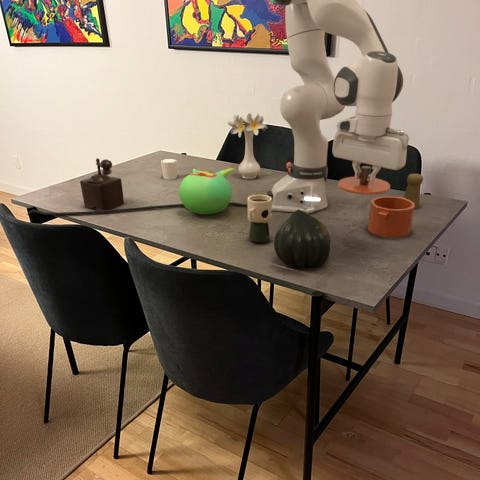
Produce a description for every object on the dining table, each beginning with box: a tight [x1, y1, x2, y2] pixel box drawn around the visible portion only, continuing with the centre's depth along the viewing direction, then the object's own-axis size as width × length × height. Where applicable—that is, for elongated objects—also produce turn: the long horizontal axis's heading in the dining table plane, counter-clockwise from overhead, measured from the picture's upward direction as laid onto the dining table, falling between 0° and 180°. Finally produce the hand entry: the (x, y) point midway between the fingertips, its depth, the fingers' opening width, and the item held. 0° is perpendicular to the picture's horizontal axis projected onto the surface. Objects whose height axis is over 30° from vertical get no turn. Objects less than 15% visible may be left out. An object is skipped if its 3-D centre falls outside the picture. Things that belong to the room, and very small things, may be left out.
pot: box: [367, 195, 416, 238], centre depth 148 cm, size 13×18×9 cm
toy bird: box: [178, 167, 235, 215], centre depth 163 cm, size 18×17×15 cm
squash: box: [273, 209, 331, 268], centre depth 129 cm, size 14×15×15 cm
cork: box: [403, 173, 424, 210], centre depth 167 cm, size 6×6×11 cm
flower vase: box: [227, 112, 268, 180], centre depth 196 cm, size 13×18×25 cm
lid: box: [337, 165, 391, 196], centre depth 129 cm, size 14×14×6 cm
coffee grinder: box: [79, 157, 125, 211], centre depth 168 cm, size 16×11×18 cm
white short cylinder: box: [160, 158, 178, 181], centre depth 201 cm, size 7×7×7 cm
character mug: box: [247, 194, 273, 243], centre depth 142 cm, size 11×7×13 cm, turn 147°
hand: (364, 179), depth 130 cm, fingers closed on lid, 2 cm apart
